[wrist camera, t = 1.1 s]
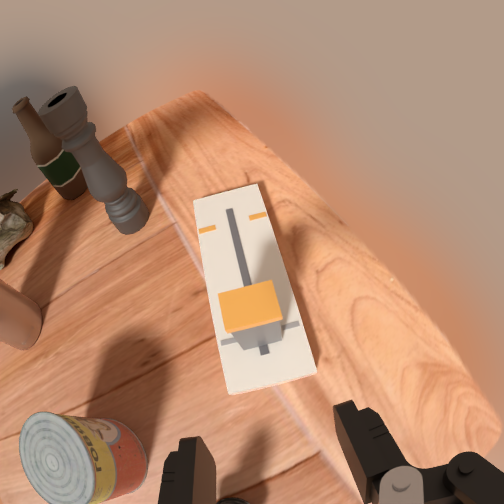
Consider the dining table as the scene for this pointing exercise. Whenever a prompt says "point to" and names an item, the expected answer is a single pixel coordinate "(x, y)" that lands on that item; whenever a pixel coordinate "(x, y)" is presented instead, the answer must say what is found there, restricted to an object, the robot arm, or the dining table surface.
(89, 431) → the canned food
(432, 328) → the dining table surface
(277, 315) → the fader knob
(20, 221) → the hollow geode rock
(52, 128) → the candle holder
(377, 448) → the robot arm
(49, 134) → the beer bottle
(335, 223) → the dining table surface
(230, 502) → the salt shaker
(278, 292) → the fader console
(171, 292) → the dining table surface
